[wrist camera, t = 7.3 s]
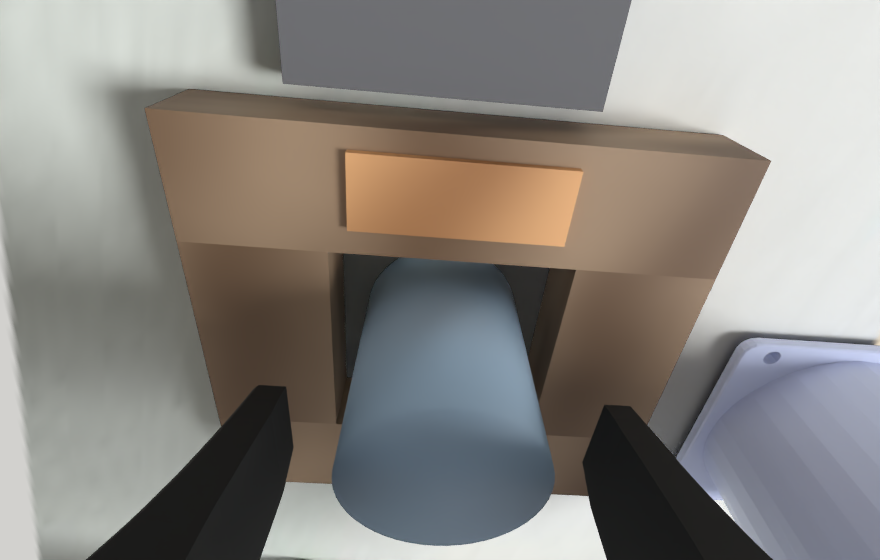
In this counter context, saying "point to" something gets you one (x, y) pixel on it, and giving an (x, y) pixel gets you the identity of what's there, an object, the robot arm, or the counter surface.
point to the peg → (442, 410)
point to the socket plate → (442, 244)
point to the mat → (456, 48)
